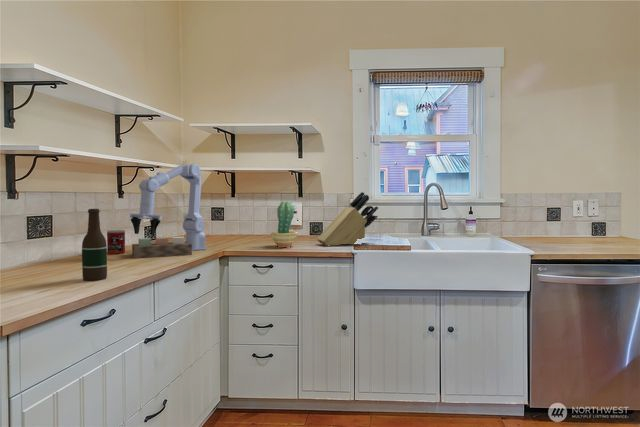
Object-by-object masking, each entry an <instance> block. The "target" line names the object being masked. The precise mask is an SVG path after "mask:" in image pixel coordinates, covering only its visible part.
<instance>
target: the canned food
mask: <svg viewBox="0 0 640 427" xmlns="http://www.w3.org/2000/svg"><path fill="white" fill-rule="evenodd" d="M106 237H107V238H106V245H107V254H108V255H122V254H123V255H124V254H125V252H126V231H125V229H124V230H123V229H115V230H114V229H112V230H107V231H106Z"/></svg>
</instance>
